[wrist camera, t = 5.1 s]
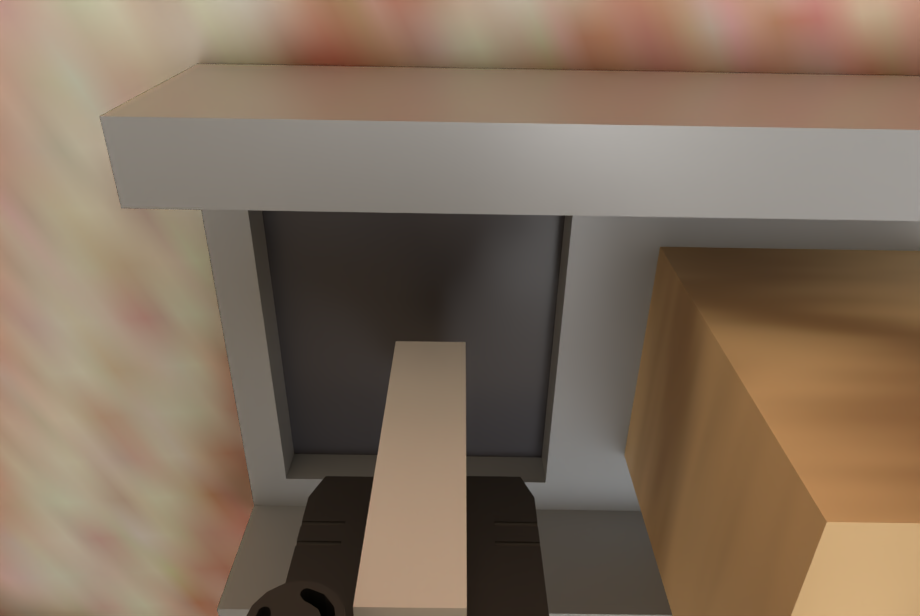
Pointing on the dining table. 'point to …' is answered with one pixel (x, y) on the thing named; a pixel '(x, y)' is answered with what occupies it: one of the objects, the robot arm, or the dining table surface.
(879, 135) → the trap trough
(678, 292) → the wood block
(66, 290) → the dining table surface
